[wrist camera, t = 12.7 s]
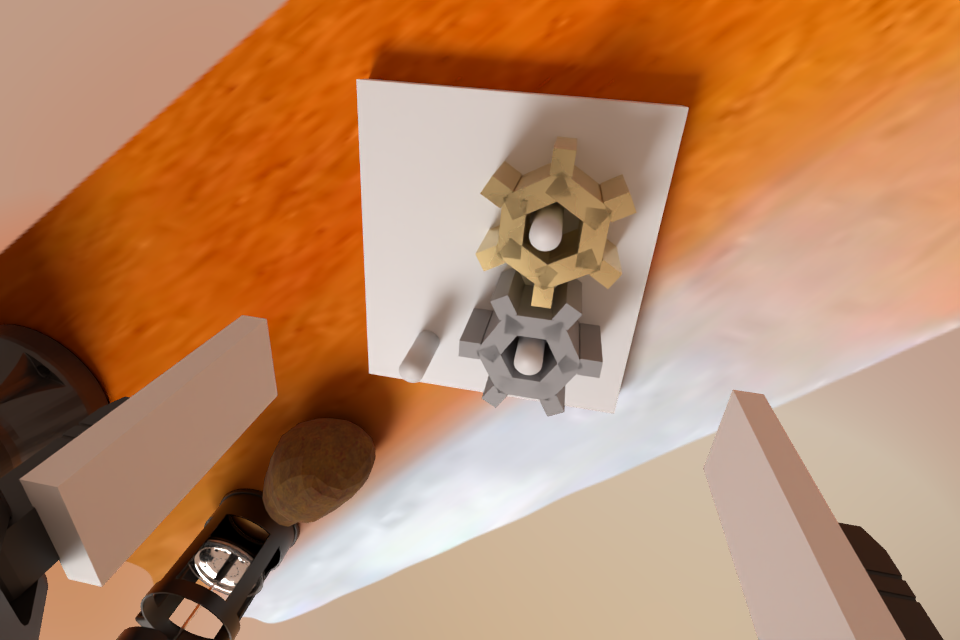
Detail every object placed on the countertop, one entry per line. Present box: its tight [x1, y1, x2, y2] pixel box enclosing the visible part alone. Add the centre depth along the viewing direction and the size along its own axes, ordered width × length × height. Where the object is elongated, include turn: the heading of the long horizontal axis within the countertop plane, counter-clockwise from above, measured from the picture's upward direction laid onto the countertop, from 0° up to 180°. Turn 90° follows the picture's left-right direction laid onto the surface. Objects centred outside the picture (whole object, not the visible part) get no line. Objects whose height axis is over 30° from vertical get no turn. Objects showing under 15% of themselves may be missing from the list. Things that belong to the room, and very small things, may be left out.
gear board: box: [356, 79, 689, 416], centre depth 33 cm, size 20×22×8 cm
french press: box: [116, 489, 299, 640], centre depth 46 cm, size 12×9×23 cm
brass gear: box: [475, 136, 637, 309], centre depth 30 cm, size 9×9×5 cm
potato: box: [262, 418, 375, 527], centre depth 44 cm, size 8×12×9 cm
